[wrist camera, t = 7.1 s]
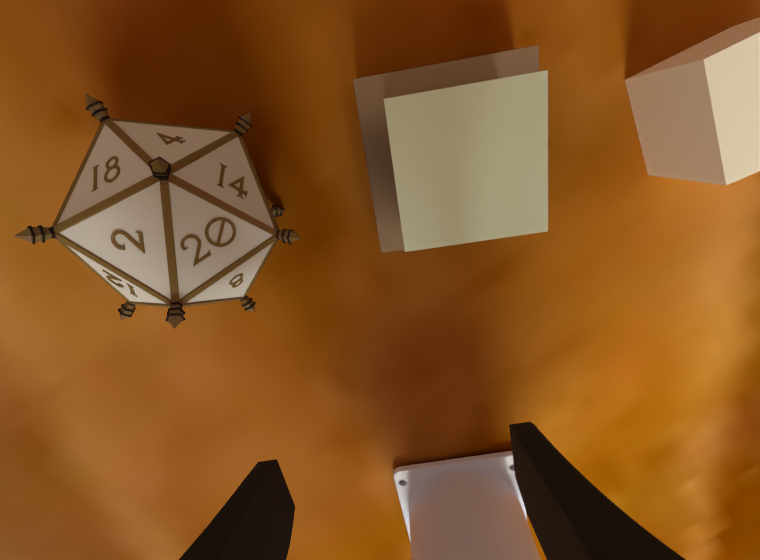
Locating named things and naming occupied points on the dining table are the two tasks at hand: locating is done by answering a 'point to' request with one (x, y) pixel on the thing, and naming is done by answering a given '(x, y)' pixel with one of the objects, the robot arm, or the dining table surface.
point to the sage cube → (471, 161)
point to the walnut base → (411, 82)
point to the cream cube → (702, 109)
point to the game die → (168, 214)
